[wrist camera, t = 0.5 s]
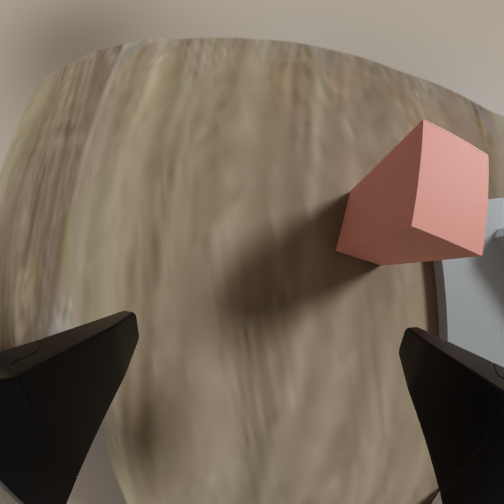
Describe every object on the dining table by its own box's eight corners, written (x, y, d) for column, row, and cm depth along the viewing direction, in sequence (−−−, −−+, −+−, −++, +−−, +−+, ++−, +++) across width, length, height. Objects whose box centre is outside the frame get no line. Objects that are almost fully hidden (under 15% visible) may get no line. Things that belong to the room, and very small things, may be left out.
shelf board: (533, 350, 20) (541, 352, 19) (437, 400, 21) (445, 406, 19) (522, 198, 22) (531, 195, 20) (423, 208, 22) (432, 204, 21)
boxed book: (380, 265, 22) (481, 255, 10) (335, 250, 22) (411, 226, 10) (393, 207, 22) (488, 155, 10) (349, 191, 23) (423, 119, 10)
